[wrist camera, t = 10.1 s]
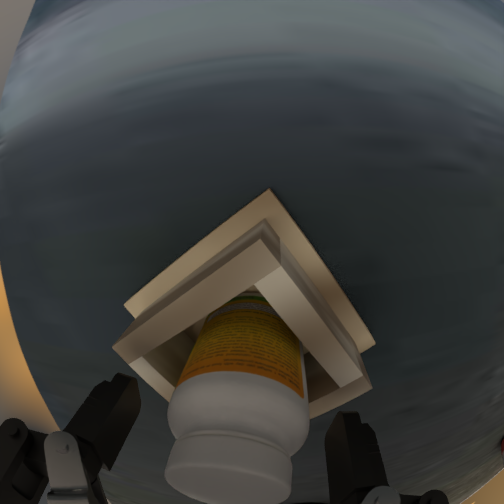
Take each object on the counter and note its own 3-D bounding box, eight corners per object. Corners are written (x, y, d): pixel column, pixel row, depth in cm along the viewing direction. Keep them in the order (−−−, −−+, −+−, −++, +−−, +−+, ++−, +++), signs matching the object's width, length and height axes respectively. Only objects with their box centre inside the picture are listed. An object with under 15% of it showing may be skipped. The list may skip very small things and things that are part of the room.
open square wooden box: (371, 334, 16) (396, 387, 11) (237, 404, 18) (227, 457, 14) (269, 187, 14) (266, 197, 9) (130, 297, 16) (89, 339, 12)
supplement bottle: (191, 302, 15) (108, 443, 6) (286, 277, 14) (295, 445, 5) (224, 374, 16) (189, 510, 7) (309, 357, 15) (324, 508, 6)
